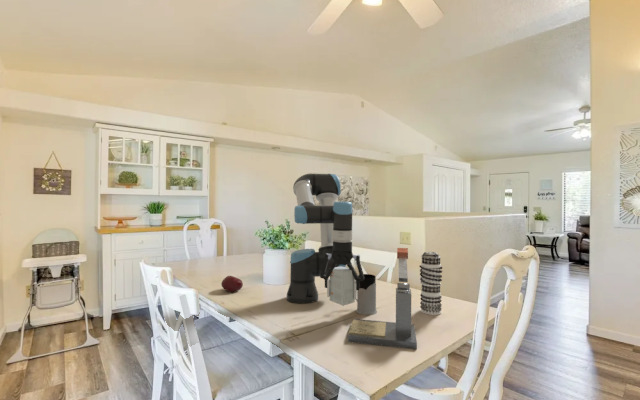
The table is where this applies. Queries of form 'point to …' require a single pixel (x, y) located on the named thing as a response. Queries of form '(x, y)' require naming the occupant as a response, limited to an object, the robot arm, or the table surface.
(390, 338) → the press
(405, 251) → the lever
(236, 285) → the heart
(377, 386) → the table surface
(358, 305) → the glass holder
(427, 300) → the decorative candle
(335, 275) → the small box
